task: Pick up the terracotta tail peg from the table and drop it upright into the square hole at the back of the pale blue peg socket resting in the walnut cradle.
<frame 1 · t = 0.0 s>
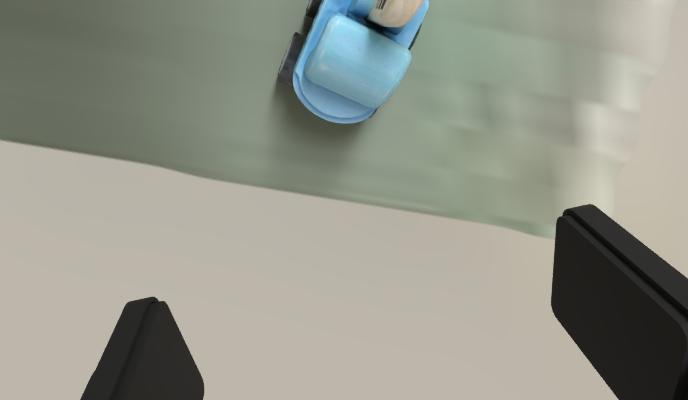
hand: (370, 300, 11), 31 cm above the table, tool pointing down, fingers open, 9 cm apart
toy excavator: (360, 7, 37), on the table
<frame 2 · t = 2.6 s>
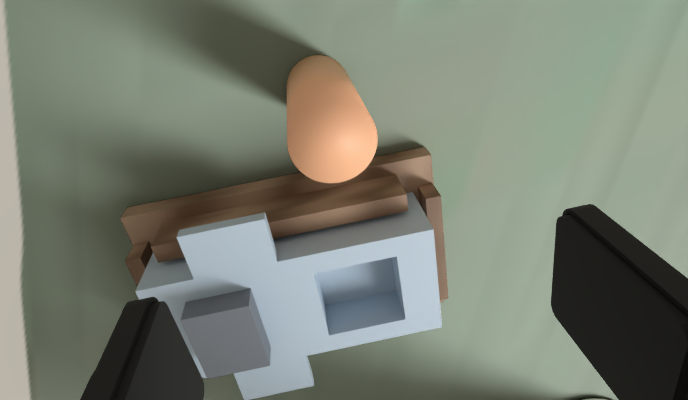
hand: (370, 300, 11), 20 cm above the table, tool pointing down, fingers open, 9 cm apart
tail peg: (318, 87, 29), on the table
pale blue peg socket: (297, 264, 33), point 1 cm above the table, touching cradle
cradle: (297, 252, 34), on the table
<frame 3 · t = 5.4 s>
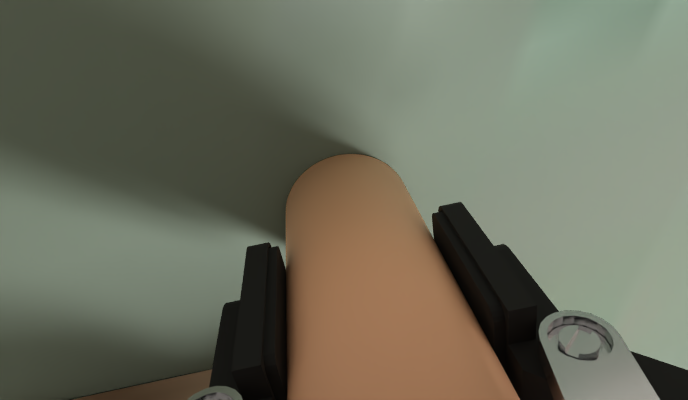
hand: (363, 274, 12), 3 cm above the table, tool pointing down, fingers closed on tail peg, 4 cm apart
tail peg: (347, 211, 15), on the table, touching gripper
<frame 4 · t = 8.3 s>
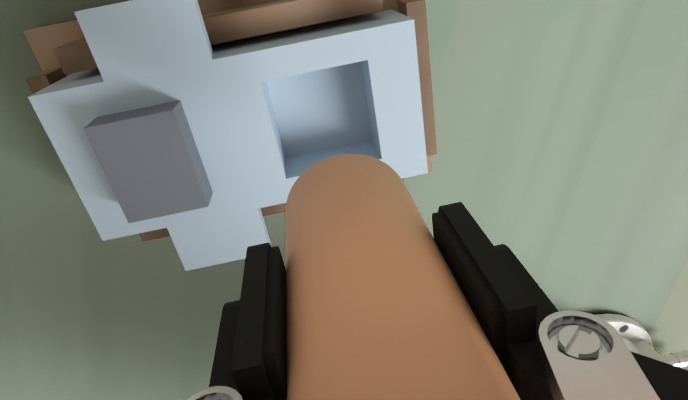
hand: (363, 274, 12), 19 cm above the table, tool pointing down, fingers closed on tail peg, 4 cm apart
tail peg: (347, 211, 15), point 16 cm above the table, touching gripper
pale blue peg socket: (252, 109, 27), point 1 cm above the table, touching cradle
cradle: (254, 102, 28), on the table
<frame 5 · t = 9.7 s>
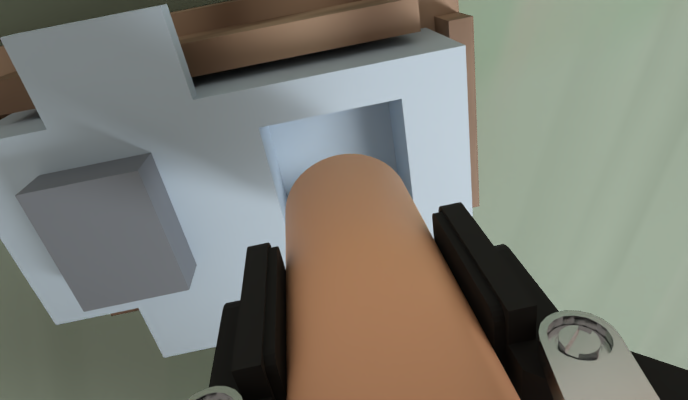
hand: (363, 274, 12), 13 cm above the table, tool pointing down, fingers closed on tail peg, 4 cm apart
tail peg: (347, 211, 15), point 9 cm above the table, touching gripper
pale blue peg socket: (249, 151, 22), point 1 cm above the table, touching cradle
cradle: (251, 140, 23), on the table
when the fingers open (8 cm above the table, at t = 11.2 s): tail peg stays where it is, resting on pale blue peg socket.
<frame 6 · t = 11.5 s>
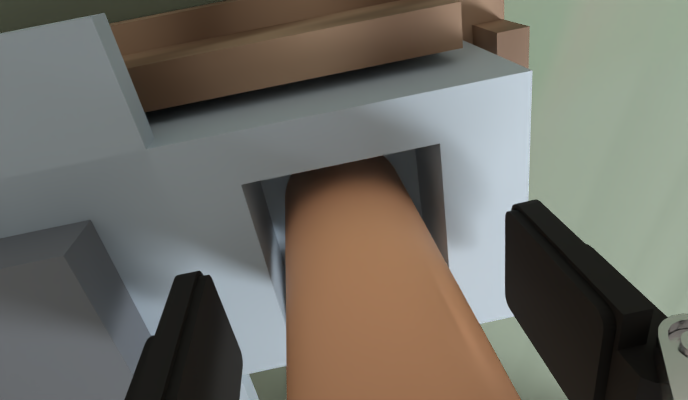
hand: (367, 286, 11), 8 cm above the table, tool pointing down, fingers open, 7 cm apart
tail peg: (343, 198, 15), point 4 cm above the table, touching pale blue peg socket
pale blue peg socket: (234, 195, 17), point 1 cm above the table, touching cradle, tail peg
cradle: (238, 178, 18), on the table
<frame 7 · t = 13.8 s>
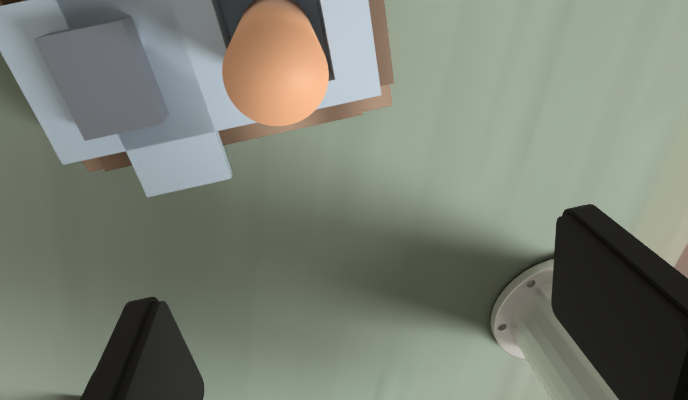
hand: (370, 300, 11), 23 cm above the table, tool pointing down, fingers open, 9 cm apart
tail peg: (275, 32, 26), point 4 cm above the table, touching pale blue peg socket
pale blue peg socket: (211, 40, 27), point 1 cm above the table, touching cradle, tail peg
cradle: (214, 35, 29), on the table
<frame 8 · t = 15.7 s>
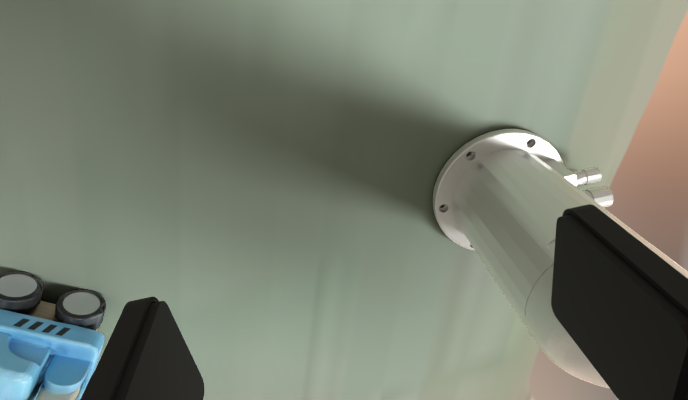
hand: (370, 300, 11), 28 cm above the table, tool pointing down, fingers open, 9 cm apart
toy excavator: (85, 319, 45), on the table
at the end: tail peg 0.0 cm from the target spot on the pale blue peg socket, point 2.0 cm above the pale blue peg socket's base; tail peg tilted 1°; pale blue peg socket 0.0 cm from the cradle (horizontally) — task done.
